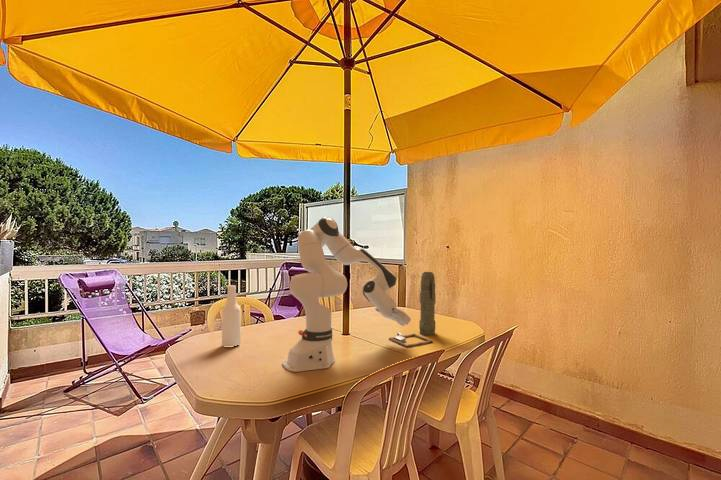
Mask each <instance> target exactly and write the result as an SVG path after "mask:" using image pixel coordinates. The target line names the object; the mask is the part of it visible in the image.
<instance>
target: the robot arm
mask: <svg viewBox="0 0 721 480" xmlns="http://www.w3.org/2000/svg"><path fill="white" fill-rule="evenodd" d="M297 246H298V254H299V258H300V262H301V263H300V264H301V267H303V269H304V270H305V271H306V272H304V273H299V274H298V273H297V274H294V275H293V276H292V278H290V281H289V292H290V293H291V295H292V296H293V297H294V298H296V299H297V300H298V301H299V302H300V303H301V305H302V306H303V309H304V312H305V313H304V314H305V329H304V331H303V330H302V329H298V331H297V333H298V335H299V336H301V338H300V339H299V340H298V341H297V342H296V343H295V344H294V345H292V346H291V347H290V348H289V350H288V353H287V354H288V355H287V358H284V359H283V360H282V366H283V368H284V369H286V370H287V371H289V372H292V373H296V372H305V371H306V372H307V371H313V370H322V369H329V368H330V367H331V365H333V364H334V363H335V361H336V360H335V356H334V352H333V343H332V341H333V328H332V311H331V309H330V308H329V307H328V306H326V305H324V304H321V303H320V299H321V298H330V297H331V298H333V297H337V296H341V295H344V293H346V291H347V288H348V281H347V280H348V279H347V277H346V276H345V275H344V274H343V273H342V272H340V271H338V270H336V269H335V268H334V267H332V266H331V264H330V263H329V261H327V259H326V255H325V253H324V249H323V247H324V246H327V248H328V250H329V251H330V253H331V254H332V257H334V259H335V260H337V261H338V263H340V264H341V265H343V266H350V265H353V264H356V263H360V262H367V263H368V264H369V265H370V266H372V267H373V268H374V269H375V270H376V271H377V272H378V273H376V275H374V276H373V277H372V278H371V279H370V280H368V281H367V282H366V283H365V284H363V286H362V295H363V296H364V297H365V299H366V300H367V301H368V302H369V303H371V304H372V305H374V306H375V308H374V310H375V311H376V312H378V313H379V314H380V315H382V316H383V317H384V318H385V319H390V320H392V321H395V322H396V323H398V325H400V326H403V327H405V325H406V326H408V325H409V324H410V323H411V321H412V319H411V317H410V316H409V315H408V314H407V313H406V312H405V311H404V310H402V309H399V308H397V303H396V302H395V301H394V300H393V299H392V297H391V296H390V295H388V294H387V291H388V290H389V289H392V288H393V287H395V286H396V283H397V277H396V275H395V274H394V272H393V271H391V270H390V269H389V268H387V267H385V266H384V265H383V264H382V263H381V262H380V261H378V259H376V258H375V257H374V256H373V255H372V254H370V253H369V252H368V251H367V250H366V249H363V248H362V247H359V248H358V247H355V246H354V245H353V244H352V243H351V242H350V241H349V240H348V239H347V238H346V237H345V236H344V235H343V234H342V233H340V231H339V227H338V224H337V222H336V221H335V220H334V219H333V218H332V217H329V216H324V217H322V218H320V219H318V221H317V222H316V223H315V224H314V225H313V226H311V228H310V229H305V230H303V231H301V232H300V233H299V234H298V237H297Z"/></svg>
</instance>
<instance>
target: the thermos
mask: <svg viewBox="0 0 721 480" xmlns="http://www.w3.org/2000/svg"><path fill="white" fill-rule="evenodd" d="M435 280H436V277H435V274H434V273H433V272H432V271H424V272H422V274H421V277H420V293H419V303H420V319H419V325H418V327H419V334H420V335H422V336H434V334H436V320H435V313H436V311H435V310H436V309H435V306H436V305H435V304H436V297H437V295H436V281H435Z"/></svg>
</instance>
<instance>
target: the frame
mask: <svg viewBox="0 0 721 480" xmlns="http://www.w3.org/2000/svg"><path fill="white" fill-rule="evenodd" d="M402 337H405V338H406V339H407V338H411V337H414V338H416V339H420V340H422V341H420V342H416V343H414V342H413V343H409V344H406V343H405V342H399V341H397V340H395V336H394V337H389V338H388V341H391V342H392V343H395V344H397V345H399V346H401V347H404V348H406V349H407V348H412V347H418V346H422V345H423V346H424V345H428V344H432V343H433V340H431V339H428V338H426V337H424V336H421V335H418V334H415V333H411V334H405V335H404V334H403V335H402Z"/></svg>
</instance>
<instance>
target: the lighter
mask: <svg viewBox="0 0 721 480" xmlns="http://www.w3.org/2000/svg"><path fill="white" fill-rule="evenodd" d="M402 336H403V334H402V333H401V332H399V331H397V332H396V336H394V337H395V340H397V341H399V342H402V343H405V342H406V341H407V338H405V337H402Z"/></svg>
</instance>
